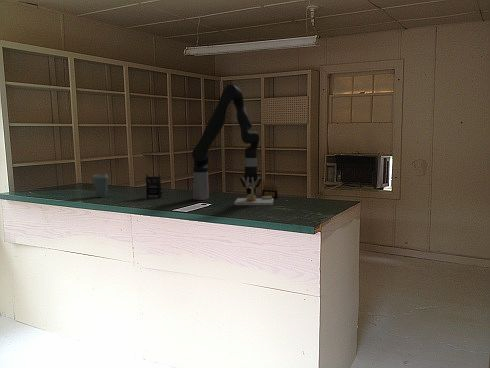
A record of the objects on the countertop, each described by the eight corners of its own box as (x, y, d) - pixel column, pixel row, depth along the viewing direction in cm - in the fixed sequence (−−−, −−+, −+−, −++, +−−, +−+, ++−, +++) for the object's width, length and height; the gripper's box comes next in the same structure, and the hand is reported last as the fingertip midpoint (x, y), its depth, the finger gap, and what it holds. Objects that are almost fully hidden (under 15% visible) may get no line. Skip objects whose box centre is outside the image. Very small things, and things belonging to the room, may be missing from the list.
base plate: (234, 205, 253) (234, 199, 253) (237, 200, 268) (237, 195, 268) (272, 205, 251) (272, 199, 250) (273, 200, 265) (273, 195, 265)
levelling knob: (245, 198, 263) (244, 187, 262) (254, 198, 264) (254, 186, 264) (248, 201, 255) (248, 189, 254) (258, 200, 256) (258, 189, 255)
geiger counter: (163, 197, 286) (162, 174, 284) (161, 198, 281) (160, 175, 279) (148, 196, 287) (147, 174, 285) (145, 198, 282) (144, 175, 280)
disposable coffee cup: (106, 198, 284) (105, 175, 282) (90, 198, 284) (88, 175, 282) (111, 195, 295) (110, 173, 293) (96, 195, 295) (94, 173, 293)
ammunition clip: (261, 197, 278) (261, 178, 277) (262, 197, 280) (262, 178, 278) (277, 198, 273) (277, 179, 272) (278, 198, 275) (278, 179, 273)
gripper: (263, 164, 260) (263, 193, 262) (240, 164, 263) (241, 193, 265) (261, 166, 253) (261, 195, 255) (237, 165, 256) (238, 195, 258)
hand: (251, 194), depth 260 cm, fingers closed on levelling knob, 3 cm apart
